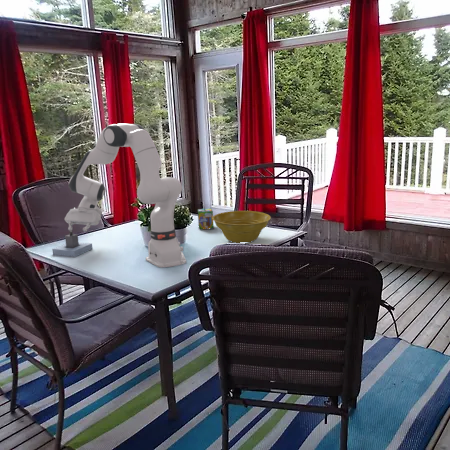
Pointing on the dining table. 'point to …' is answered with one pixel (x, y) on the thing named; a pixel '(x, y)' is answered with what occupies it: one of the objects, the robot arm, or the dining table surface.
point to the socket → (72, 249)
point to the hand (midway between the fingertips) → (77, 230)
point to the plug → (71, 240)
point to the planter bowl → (241, 224)
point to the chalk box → (205, 218)
